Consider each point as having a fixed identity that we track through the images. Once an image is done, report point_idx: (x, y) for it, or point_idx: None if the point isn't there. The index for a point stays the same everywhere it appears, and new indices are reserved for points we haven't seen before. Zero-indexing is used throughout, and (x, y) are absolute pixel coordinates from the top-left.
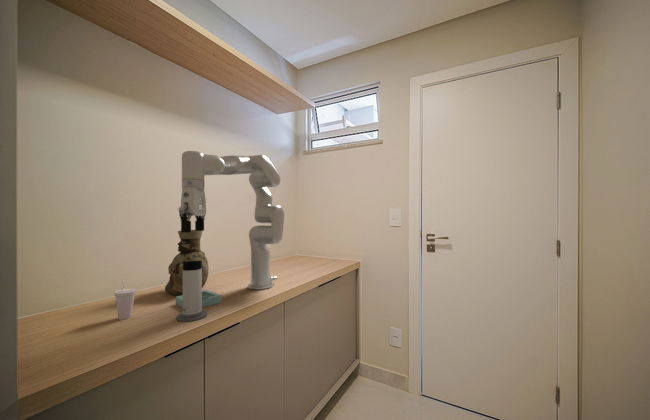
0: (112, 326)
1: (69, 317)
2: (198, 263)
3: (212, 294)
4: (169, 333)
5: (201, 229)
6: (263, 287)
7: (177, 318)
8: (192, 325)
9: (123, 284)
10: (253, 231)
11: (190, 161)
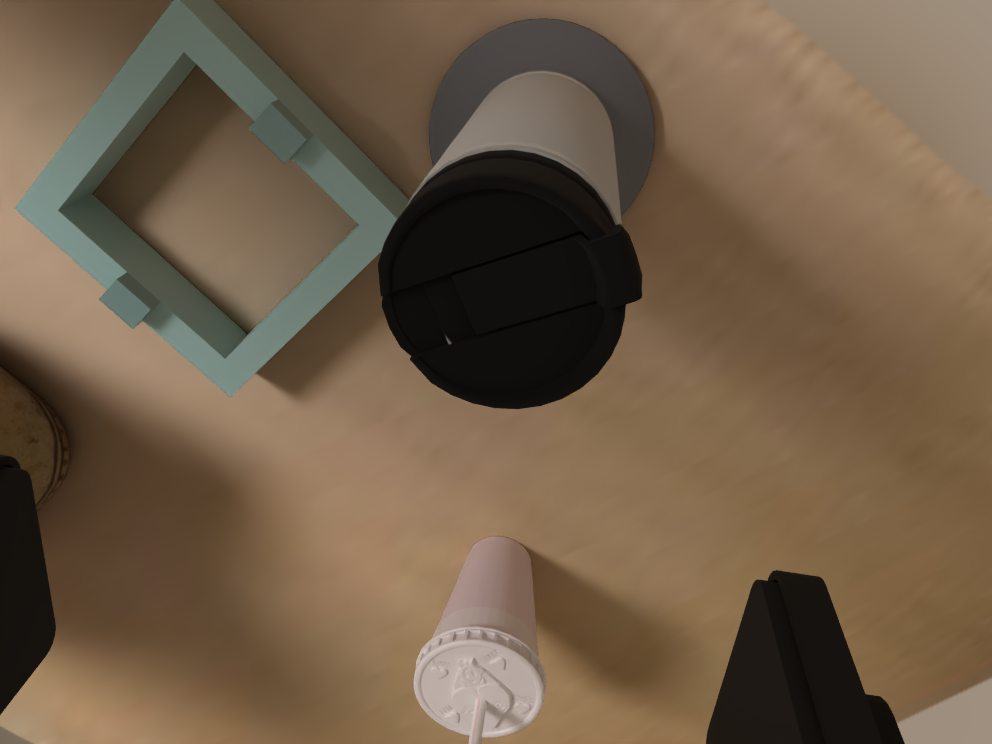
0: (633, 559)
1: None
2: (566, 186)
3: (145, 102)
4: (848, 179)
5: (18, 515)
6: None
7: None
8: (737, 64)
9: (479, 740)
10: None
11: None
